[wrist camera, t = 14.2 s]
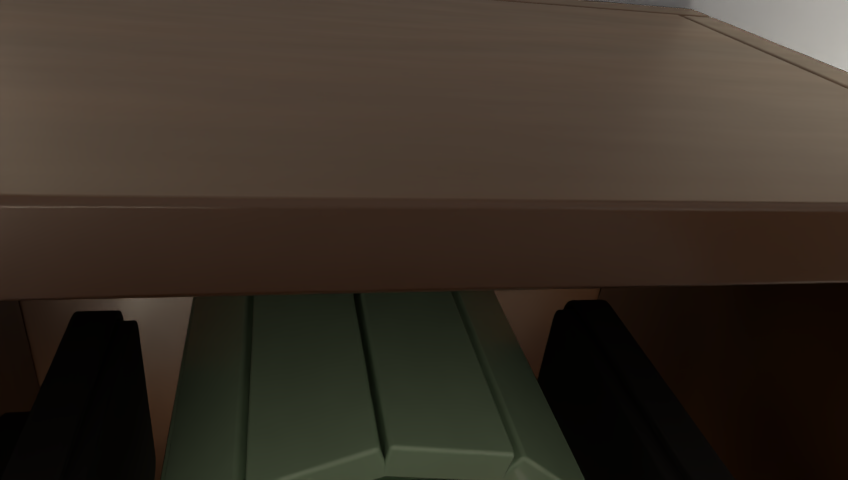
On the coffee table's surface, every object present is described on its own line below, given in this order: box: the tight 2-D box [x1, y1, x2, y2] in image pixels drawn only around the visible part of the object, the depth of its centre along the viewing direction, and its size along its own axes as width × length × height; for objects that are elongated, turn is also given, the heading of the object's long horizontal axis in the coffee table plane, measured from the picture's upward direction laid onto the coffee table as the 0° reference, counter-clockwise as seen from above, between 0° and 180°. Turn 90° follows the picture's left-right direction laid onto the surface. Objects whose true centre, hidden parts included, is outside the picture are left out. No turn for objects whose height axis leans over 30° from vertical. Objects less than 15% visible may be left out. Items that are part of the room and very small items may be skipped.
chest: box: [0, 0, 848, 480], centre depth 11 cm, size 13×12×8 cm
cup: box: [160, 291, 585, 480], centre depth 10 cm, size 5×5×6 cm
